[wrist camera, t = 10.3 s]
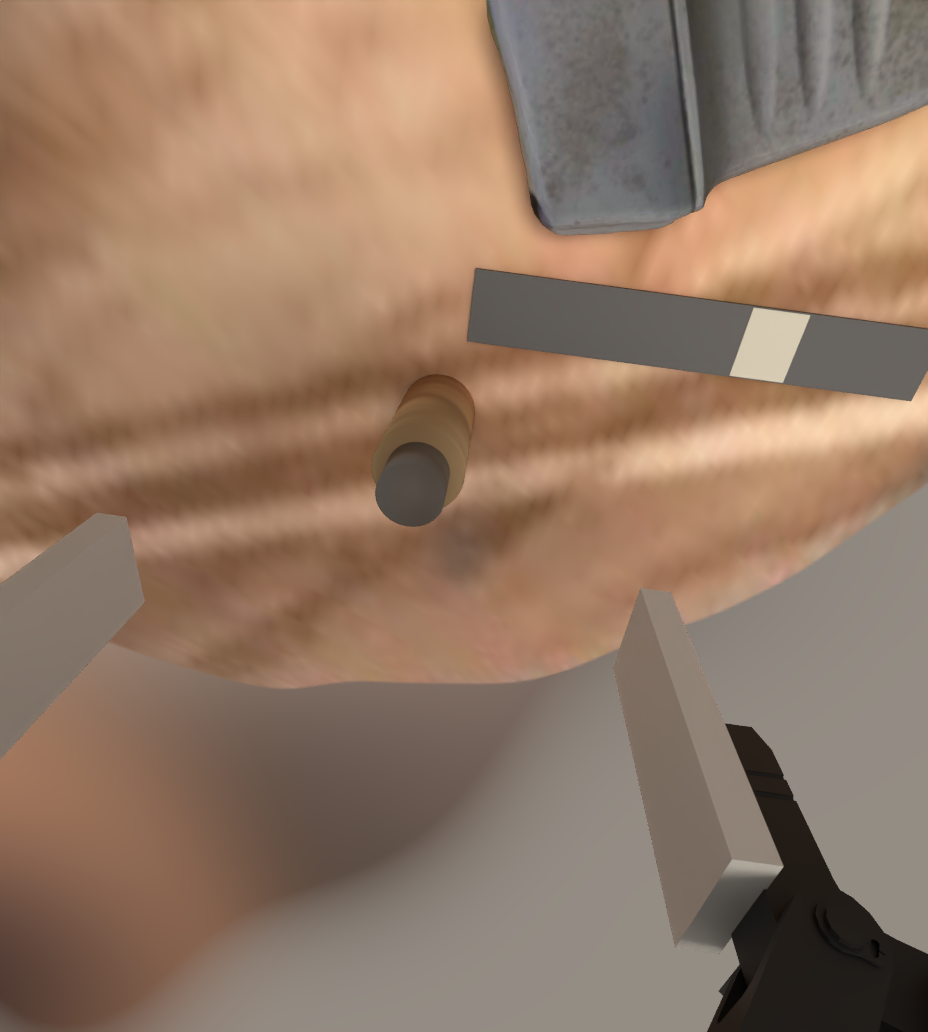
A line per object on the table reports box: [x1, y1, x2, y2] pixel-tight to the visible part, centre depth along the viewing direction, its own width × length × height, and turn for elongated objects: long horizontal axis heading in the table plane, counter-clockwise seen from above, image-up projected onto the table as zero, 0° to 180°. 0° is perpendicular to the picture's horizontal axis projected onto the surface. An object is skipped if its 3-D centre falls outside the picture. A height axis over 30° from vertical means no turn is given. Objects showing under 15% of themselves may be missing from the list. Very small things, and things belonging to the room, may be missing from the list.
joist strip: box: [467, 268, 928, 401], centre depth 24 cm, size 20×3×1 cm, turn 83°
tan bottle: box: [372, 375, 475, 527], centre depth 23 cm, size 4×4×9 cm
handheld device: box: [486, 0, 928, 235], centre depth 17 cm, size 10×20×5 cm, turn 109°
